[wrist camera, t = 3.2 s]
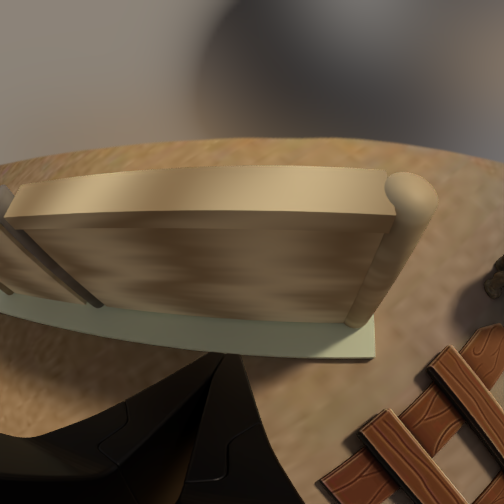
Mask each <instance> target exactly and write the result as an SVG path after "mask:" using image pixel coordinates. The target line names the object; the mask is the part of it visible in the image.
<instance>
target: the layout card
mask: <svg viewBox="0 0 504 504" xmlns="http://www.w3.org/2000/svg"><path fill="white" fill-rule="evenodd" d="M0 313H3V314H6V315H10V316H14V317H17V318H21V319H25V320H29V321H33V322H37V323H41V324H45V325H49V326H53V327H58V328H62V329H67V330H71V331H76V332H81V333H86V334H91V335H96V336H101V337H107V338H112V339H118V340H124V341H130V342H136V343H142V344H149V345H156V346H163V347H170V348H178V349H186V350H195V351H204V352H221V353H225V354H226V353H233V354H240V355H250V356H265V357H285V358H315V359H373V358H375V331H374V314H373V315H372V317H371V318H370V319H369V321H368V322H367V324H366V325H364V326H363V327H360V328H350V327H348V326H346V325H345V324H344V323H308V322H280V321H259V320H242V319H226V318H213V317H200V316H188V315H177V314H167V313H157V312H148V311H139V310H130V309H122V308H114V307H107V306H105V305H104V306H103V307H101V308H95V307H93V306H92V305H91V304H90V303H88V302H87V303H86V305H82V304H75V303H69V302H63V301H56V300H50V299H45V298H39V297H33V296H28V295H22V294H17V293H15V292H14V293H13V294H12V295H7V294H6V293H4V292H3V291H2V290H0Z"/></svg>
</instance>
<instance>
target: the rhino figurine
mask: <svg viewBox="0 0 504 504" xmlns="http://www.w3.org/2000/svg"><path fill="white" fill-rule="evenodd" d="M496 268H497V269H498V270H499V271H500V272H497V273H495V274H494V278H493V279H489V280H487V281H486V282H485V284H484V286H485V290H486V292H487V293H488V295H489V296H490V297H491V298H493V299H494V298H496V297H499V296H500V295H501V291H502V288H501V287H503V286H504V255H503V256H502V257H500V258H499V259H498V260H497V261H496Z"/></svg>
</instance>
